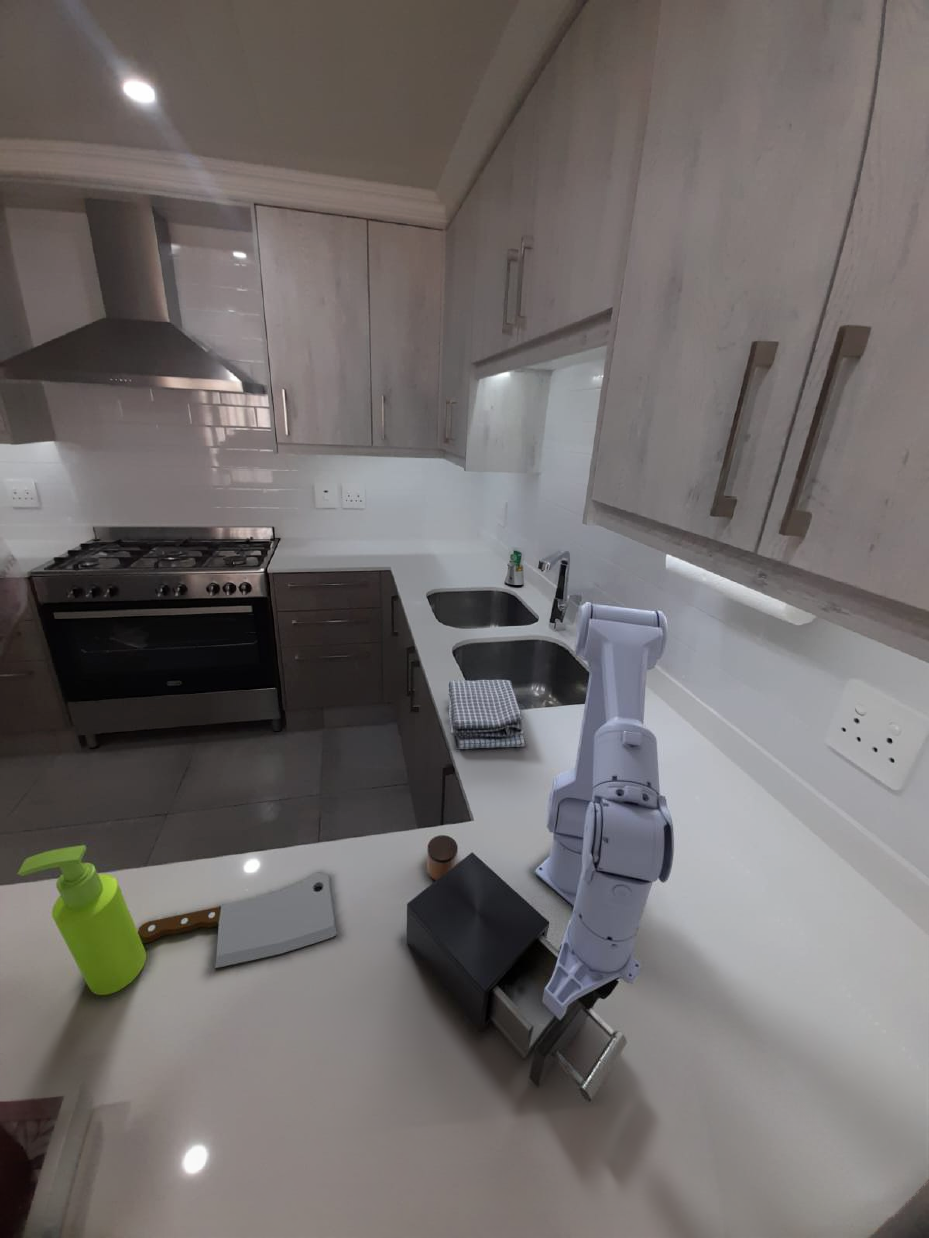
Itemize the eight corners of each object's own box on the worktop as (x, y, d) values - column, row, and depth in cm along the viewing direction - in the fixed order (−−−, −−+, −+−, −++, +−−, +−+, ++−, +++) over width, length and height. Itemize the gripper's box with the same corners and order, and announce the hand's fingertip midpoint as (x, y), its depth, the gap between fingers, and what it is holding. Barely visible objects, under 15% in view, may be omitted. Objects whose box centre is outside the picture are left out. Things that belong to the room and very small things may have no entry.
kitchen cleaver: (121, 989, 56) (144, 907, 65) (123, 994, 57) (146, 912, 65) (337, 937, 64) (332, 869, 72) (337, 941, 64) (333, 873, 72)
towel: (508, 700, 117) (511, 672, 114) (525, 750, 101) (529, 719, 97) (445, 701, 115) (447, 673, 112) (452, 752, 99) (454, 721, 96)
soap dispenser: (88, 953, 61) (32, 840, 52) (151, 937, 63) (107, 825, 54) (69, 1005, 56) (4, 888, 47) (139, 985, 58) (88, 870, 49)
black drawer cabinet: (542, 960, 63) (549, 922, 60) (479, 1032, 55) (484, 992, 52) (469, 888, 72) (472, 851, 68) (406, 941, 64) (406, 903, 61)
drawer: (628, 1046, 54) (639, 1016, 52) (575, 1133, 47) (585, 1104, 45) (512, 931, 65) (516, 902, 63) (455, 989, 58) (458, 959, 56)
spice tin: (442, 850, 77) (443, 830, 75) (462, 869, 74) (463, 848, 73) (420, 867, 74) (421, 846, 73) (440, 887, 72) (441, 865, 70)
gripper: (603, 1007, 37) (576, 1096, 43) (683, 890, 47) (653, 976, 52) (531, 938, 42) (515, 1027, 47) (617, 844, 51) (596, 928, 57)
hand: (583, 996), depth 50 cm, fingers closed
